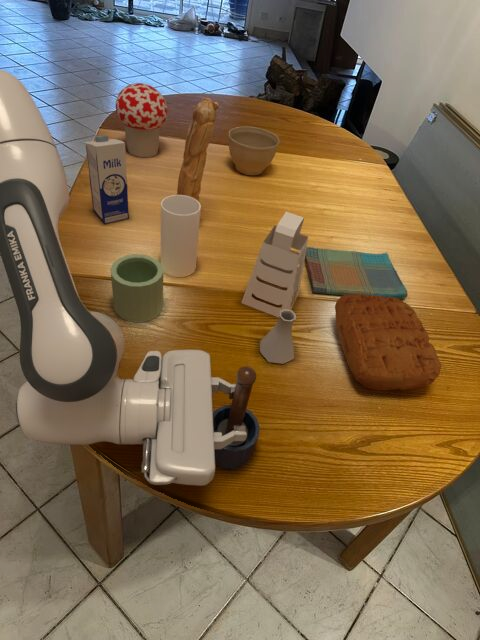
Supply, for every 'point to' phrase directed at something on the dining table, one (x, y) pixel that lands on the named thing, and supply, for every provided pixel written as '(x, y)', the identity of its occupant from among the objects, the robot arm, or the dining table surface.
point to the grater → (278, 266)
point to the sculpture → (196, 148)
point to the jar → (137, 287)
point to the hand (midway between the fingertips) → (243, 411)
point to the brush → (239, 403)
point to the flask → (279, 339)
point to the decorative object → (141, 117)
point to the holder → (236, 455)
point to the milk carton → (108, 178)
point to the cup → (179, 234)
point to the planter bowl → (252, 149)
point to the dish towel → (352, 273)
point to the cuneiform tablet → (385, 343)
